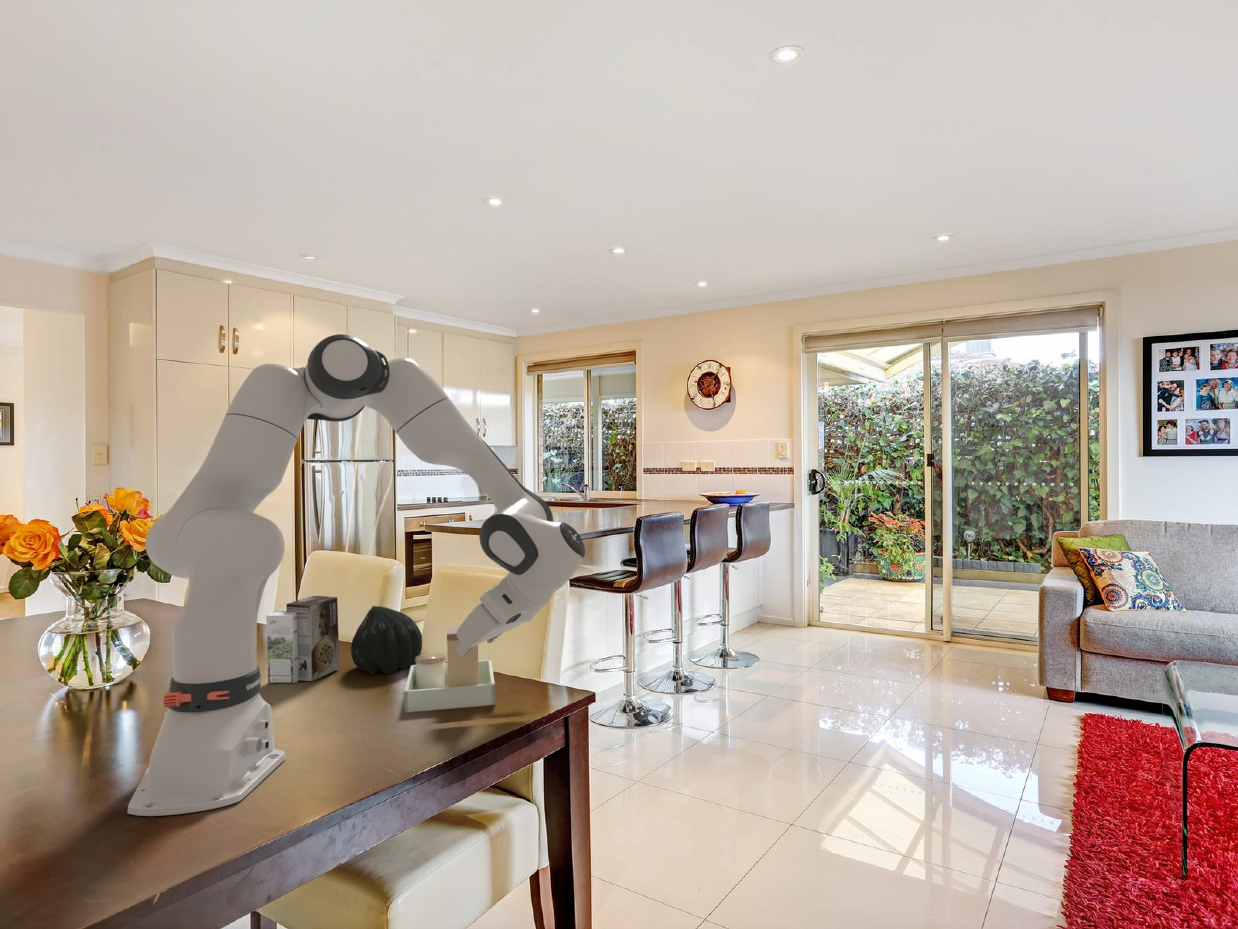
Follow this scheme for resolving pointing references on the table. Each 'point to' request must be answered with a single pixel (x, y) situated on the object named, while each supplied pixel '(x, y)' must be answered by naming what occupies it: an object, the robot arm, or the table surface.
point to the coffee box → (316, 636)
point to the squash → (386, 641)
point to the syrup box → (282, 647)
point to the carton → (461, 662)
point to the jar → (430, 671)
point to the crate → (451, 692)
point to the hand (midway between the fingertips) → (474, 646)
